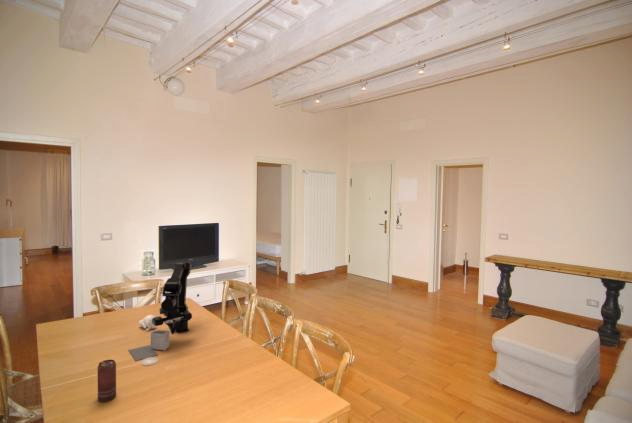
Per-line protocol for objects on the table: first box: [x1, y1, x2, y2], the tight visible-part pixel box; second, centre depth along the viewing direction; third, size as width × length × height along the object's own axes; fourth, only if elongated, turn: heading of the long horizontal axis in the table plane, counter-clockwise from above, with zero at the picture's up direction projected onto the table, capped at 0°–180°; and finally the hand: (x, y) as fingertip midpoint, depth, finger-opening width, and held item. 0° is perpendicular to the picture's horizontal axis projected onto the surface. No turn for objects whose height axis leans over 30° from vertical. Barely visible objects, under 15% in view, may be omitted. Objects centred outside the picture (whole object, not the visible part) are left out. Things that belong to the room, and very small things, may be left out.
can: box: [97, 359, 117, 403], centre depth 136 cm, size 6×6×14 cm
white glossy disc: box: [141, 356, 159, 367], centre depth 165 cm, size 7×7×1 cm
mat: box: [128, 344, 159, 362], centre depth 174 cm, size 10×14×1 cm
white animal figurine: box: [138, 314, 156, 332], centre depth 204 cm, size 6×8×12 cm
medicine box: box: [150, 329, 171, 351], centre depth 179 cm, size 8×4×9 cm, turn 84°
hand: (172, 334), depth 183 cm, fingers closed
